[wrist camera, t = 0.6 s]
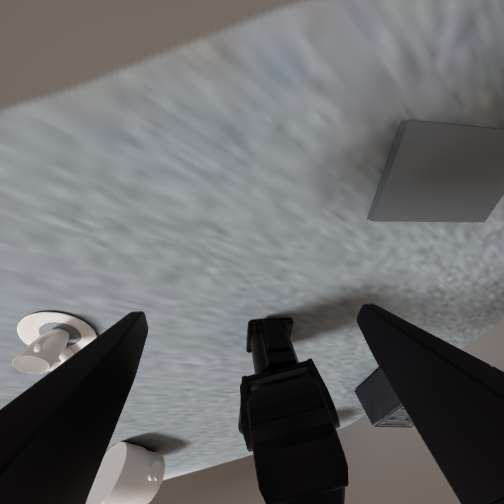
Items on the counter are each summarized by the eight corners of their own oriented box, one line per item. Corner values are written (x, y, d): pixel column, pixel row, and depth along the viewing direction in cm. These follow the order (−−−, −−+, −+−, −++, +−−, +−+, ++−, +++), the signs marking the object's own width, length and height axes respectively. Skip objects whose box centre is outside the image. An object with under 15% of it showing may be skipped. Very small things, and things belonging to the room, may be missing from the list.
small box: (383, 359, 36) (351, 389, 40) (413, 397, 30) (372, 428, 34) (419, 365, 39) (386, 393, 43) (453, 401, 33) (411, 429, 37)
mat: (476, 220, 23) (484, 222, 22) (366, 218, 21) (371, 221, 20) (531, 134, 19) (543, 133, 18) (401, 121, 17) (409, 119, 16)
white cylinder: (136, 433, 37) (116, 499, 30) (169, 445, 41) (158, 504, 34) (91, 454, 38) (62, 521, 31) (127, 463, 43) (109, 524, 36)
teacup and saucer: (74, 363, 26) (50, 397, 22) (5, 338, 22) (-37, 374, 19) (112, 330, 24) (93, 361, 20) (42, 297, 20) (4, 328, 17)
